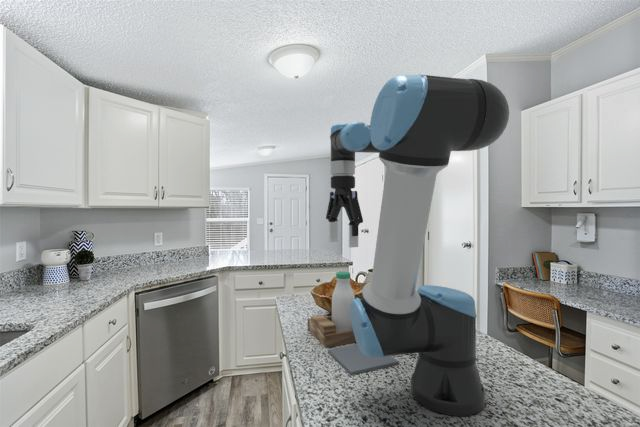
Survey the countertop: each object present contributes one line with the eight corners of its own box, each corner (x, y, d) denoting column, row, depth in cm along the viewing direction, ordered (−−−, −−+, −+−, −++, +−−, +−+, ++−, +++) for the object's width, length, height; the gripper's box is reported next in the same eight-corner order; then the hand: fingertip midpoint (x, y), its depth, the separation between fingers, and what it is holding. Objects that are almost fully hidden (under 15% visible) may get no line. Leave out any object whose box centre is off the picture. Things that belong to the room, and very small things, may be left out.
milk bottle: (354, 338, 104) (353, 275, 104) (330, 337, 106) (329, 274, 106) (356, 330, 112) (356, 270, 112) (333, 328, 114) (333, 269, 113)
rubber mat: (398, 364, 87) (398, 361, 87) (350, 375, 82) (350, 372, 82) (370, 344, 100) (370, 341, 100) (327, 352, 95) (327, 349, 95)
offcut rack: (373, 339, 104) (373, 313, 104) (326, 347, 98) (326, 320, 98) (350, 322, 119) (349, 300, 119) (307, 329, 113) (307, 306, 113)
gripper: (375, 173, 93) (375, 248, 94) (336, 178, 116) (336, 239, 117) (351, 172, 90) (351, 250, 91) (316, 177, 113) (316, 240, 114)
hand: (343, 244), depth 104 cm, fingers open, 13 cm apart
